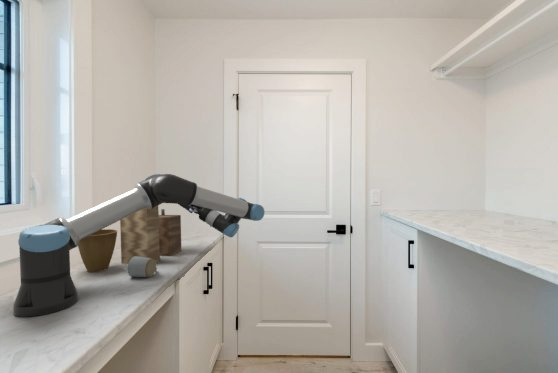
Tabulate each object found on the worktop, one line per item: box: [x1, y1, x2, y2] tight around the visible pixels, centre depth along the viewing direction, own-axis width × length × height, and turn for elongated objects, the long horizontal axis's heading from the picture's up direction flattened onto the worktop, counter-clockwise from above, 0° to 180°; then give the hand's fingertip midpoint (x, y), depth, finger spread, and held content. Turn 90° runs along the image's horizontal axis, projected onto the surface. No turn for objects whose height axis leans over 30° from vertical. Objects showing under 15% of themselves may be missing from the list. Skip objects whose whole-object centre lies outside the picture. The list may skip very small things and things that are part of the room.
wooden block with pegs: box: [159, 208, 182, 257], centre depth 151 cm, size 16×11×22 cm, turn 77°
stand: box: [119, 205, 161, 265], centre depth 135 cm, size 14×8×30 cm, turn 77°
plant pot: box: [77, 228, 118, 273], centre depth 124 cm, size 15×15×16 cm
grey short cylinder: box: [126, 256, 158, 278], centre depth 116 cm, size 11×8×8 cm
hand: (172, 192), depth 149 cm, fingers closed on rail, 4 cm apart
